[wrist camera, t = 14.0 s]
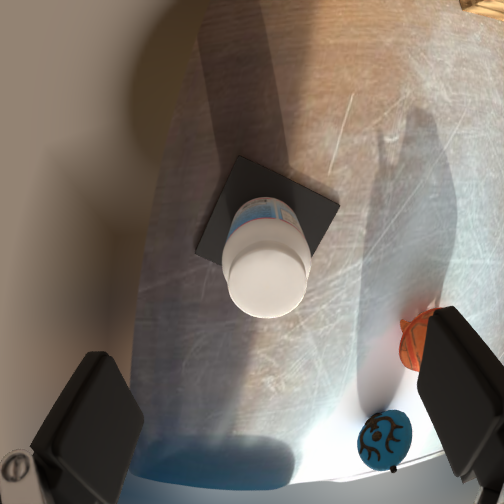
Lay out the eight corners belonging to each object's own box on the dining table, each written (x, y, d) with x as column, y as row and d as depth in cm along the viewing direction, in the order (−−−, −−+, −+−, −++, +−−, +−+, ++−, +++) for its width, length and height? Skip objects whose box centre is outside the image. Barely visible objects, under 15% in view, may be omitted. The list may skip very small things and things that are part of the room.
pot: (377, 354, 34) (399, 381, 27) (400, 290, 33) (429, 307, 26) (429, 362, 34) (455, 387, 27) (452, 304, 33) (483, 320, 27)
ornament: (392, 393, 37) (414, 451, 28) (408, 405, 38) (429, 459, 28) (344, 426, 39) (356, 483, 30) (362, 436, 40) (375, 489, 31)
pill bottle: (227, 255, 30) (209, 321, 20) (237, 190, 28) (220, 227, 18) (292, 265, 30) (305, 335, 20) (305, 202, 28) (329, 245, 18)
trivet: (195, 252, 31) (194, 253, 30) (239, 155, 27) (238, 155, 27) (289, 294, 32) (289, 295, 32) (339, 205, 28) (340, 205, 28)
